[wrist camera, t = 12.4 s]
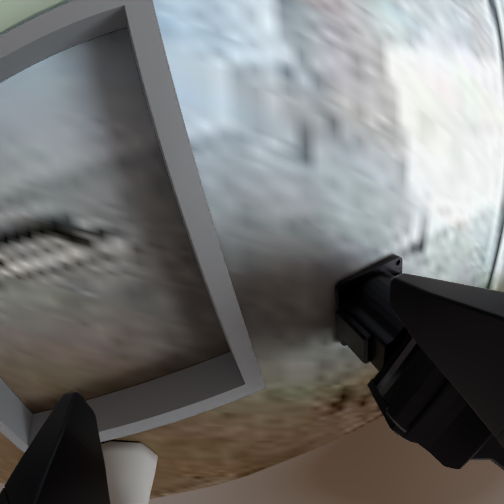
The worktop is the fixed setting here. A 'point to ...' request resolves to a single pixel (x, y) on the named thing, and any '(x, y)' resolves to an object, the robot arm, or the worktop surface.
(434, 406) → the robot arm
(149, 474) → the flask
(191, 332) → the worktop surface
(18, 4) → the mat
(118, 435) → the grey rimmed tray
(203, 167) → the worktop surface
